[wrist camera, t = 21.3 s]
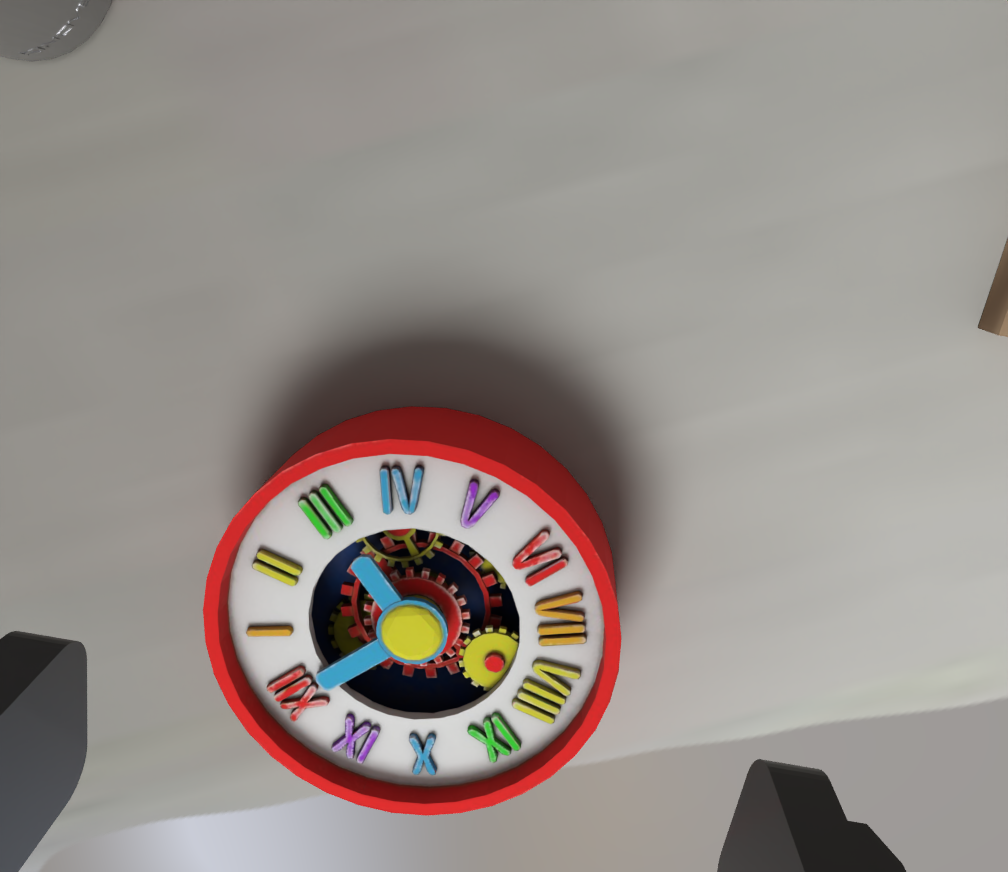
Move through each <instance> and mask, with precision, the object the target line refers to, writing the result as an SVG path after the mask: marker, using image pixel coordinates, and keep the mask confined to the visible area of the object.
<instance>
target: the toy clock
mask: <svg viewBox="0 0 1008 872" xmlns="http://www.w3.org/2000/svg"><path fill="white" fill-rule="evenodd" d="M203 615H204V628H205V640H206V646H207V649H208V653H209V657H210V661H211V664H212V668H213V672H214V675H215V677H216V679H217V681H218V683H219V686H220V688H221V690H222V692H223V694H224V696H225V698H226V700H227V702H228V704H229V706H230V707H231V709H232V710H233V712H234V713H235V714H236V716H237V717H238V719H239V720H240V722H241V723H242V725H243V726H244V728H245V729H246V730H247V732H248V733H249V734H250V735H251V736H252V737H253V738H254V739H255V740H256V741H257V742H258V743H259V744H260V745H261V746H262V747H263V748H264V749H265V750H266V751H267V752H268V753H269V754H270V756H272V757H273V758H274V759H276V760H277V761H278V762H279V763H281V764H282V765H283V766H285V767H286V768H287V769H289V770H290V771H291V772H292V773H294V774H295V775H296V776H298V777H300V778H301V779H303V780H305V781H307V782H309V783H310V784H312V785H314V786H316V787H317V788H319V789H321V790H323V791H325V792H326V793H329V794H331V795H334V796H337V797H340V798H342V799H344V800H347V801H350V802H352V803H355V804H357V805H361V806H366V807H370V808H374V809H378V810H383V811H387V812H391V813H403V814H415V815H439V814H453V813H462V812H466V811H471V810H476V809H480V808H485V807H489V806H493V805H496V804H498V803H501V802H503V801H506V800H508V799H511V798H513V797H516V796H518V795H521V794H523V793H525V792H527V791H528V790H530V789H532V788H533V787H535V786H537V785H538V784H540V783H542V782H543V781H545V780H547V779H548V778H550V777H551V776H552V775H554V774H555V773H556V772H557V771H558V770H559V769H561V768H562V767H563V766H564V765H565V764H566V763H567V762H569V761H570V760H571V759H572V758H573V757H574V756H575V755H576V754H577V753H578V751H579V750H580V749H581V748H582V746H583V745H584V744H585V743H586V741H587V740H588V739H589V738H590V736H591V735H592V734H593V732H594V731H595V730H596V728H597V726H598V724H599V722H600V720H601V718H602V716H603V714H604V712H605V710H606V708H607V706H608V704H609V702H610V699H611V696H612V692H613V689H614V685H615V682H616V678H617V675H618V671H619V660H620V648H621V631H620V622H619V612H618V603H617V594H616V584H615V576H614V567H613V559H612V552H611V549H610V546H609V542H608V539H607V536H606V533H605V530H604V527H603V524H602V521H601V520H600V518H599V516H598V514H597V512H596V510H595V509H594V507H593V505H592V503H591V501H590V499H589V497H588V496H587V494H586V493H585V491H584V490H583V489H582V488H581V486H580V485H579V484H578V483H577V481H576V480H575V479H574V478H573V476H572V475H571V474H570V473H569V471H568V470H567V469H566V468H565V467H564V466H563V465H562V464H560V463H559V462H558V461H557V460H556V459H555V458H554V457H552V456H551V455H550V454H549V453H548V452H547V451H546V450H544V449H543V448H542V447H541V446H540V445H538V444H536V443H535V442H533V441H531V440H530V439H528V438H526V437H525V436H523V435H522V434H520V433H518V432H517V431H515V430H513V429H512V428H509V427H507V426H504V425H502V424H500V423H497V422H495V421H492V420H490V419H487V418H485V417H482V416H480V415H475V414H471V413H466V412H461V411H457V410H452V409H448V408H434V407H413V406H411V407H403V408H395V409H387V410H379V411H375V412H372V413H368V414H365V415H362V416H359V417H356V418H352V419H349V420H346V421H344V422H342V423H340V424H338V425H336V426H335V427H333V428H331V429H329V430H327V431H325V432H323V433H321V434H319V435H317V436H316V437H315V438H314V439H312V440H311V441H310V442H309V443H307V444H306V445H305V446H304V447H302V448H301V449H300V450H298V451H297V452H296V453H295V454H293V455H292V456H291V457H290V458H289V459H288V460H287V461H286V462H285V463H284V464H283V465H282V466H281V467H280V468H279V469H278V470H277V471H276V472H275V474H274V475H273V476H272V477H271V478H270V479H269V480H268V481H267V482H266V483H265V484H264V485H263V486H262V487H261V488H260V489H259V490H258V491H257V492H256V493H255V494H254V495H253V496H252V497H251V498H250V499H249V501H248V502H247V503H246V504H245V505H244V506H243V507H242V509H241V510H240V511H239V512H238V513H237V514H236V515H235V517H234V518H233V519H232V521H231V523H230V525H229V526H228V528H227V530H226V532H225V534H224V535H223V537H222V539H221V541H220V542H219V544H218V546H217V548H216V551H215V554H214V558H213V561H212V564H211V567H210V570H209V573H208V576H207V581H206V590H205V599H204V607H203Z"/></svg>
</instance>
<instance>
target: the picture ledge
mask: <svg viewBox="0 0 1008 872" xmlns="http://www.w3.org/2000/svg"><path fill="white" fill-rule="evenodd" d="M978 328H980V329H982V330H985V331H988V332H991V333H994V334H997V335H1000V336H1006V337H1008V239H1007V242H1006V245H1005V248H1004V251H1003V254H1002V257H1001V260H1000V263H999V266H998V269H997V272H996V275H995V278H994V281H993V284H992V287H991V290H990V293H989V296H988V299H987V302H986V305H985V308H984V311H983V314H982V317H981V320H980V323H979V326H978Z"/></svg>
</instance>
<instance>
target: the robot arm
mask: <svg viewBox="0 0 1008 872" xmlns="http://www.w3.org/2000/svg"><path fill="white" fill-rule="evenodd" d="M111 1H112V0H0V56H2V57H6V58H11V59H18V60H26V61H39V60H47V59H53V58H56V57H59V56H61V55H64V54H66V53H69V52H71V51H73V50H74V49H75V48H77V47H78V46H80V45H81V44H82V43H84V42H85V41H87V40H88V38H89V37H90V36H91V35H92V34H93V33H94V31H95V30H96V29H97V28H98V27H99V26H100V24H101V22H102V20H103V18H104V16H105V15H106V13H107V11H108V9H109V7H110V5H111ZM86 752H87V656H86V650H85V648H84V645H83V644H82V643H81V642H79V641H73V640H67V639H61V638H55V637H49V636H43V635H37V634H32V633H26V632H20V631H14V632H10V633H8V634H7V635H5V636H4V637H3V638H1V639H0V872H18V871H19V870H20V868H21V867H22V866H23V864H24V863H25V861H26V860H27V859H28V857H29V856H30V854H31V853H32V852H33V850H34V849H35V848H36V846H37V845H38V843H39V842H40V841H41V839H42V838H43V836H44V835H45V834H46V832H47V831H48V829H49V828H50V827H51V825H52V824H53V822H54V821H55V820H56V818H57V817H58V815H59V814H60V813H61V811H62V810H63V808H64V807H65V806H66V804H67V803H68V801H69V800H70V798H71V796H72V794H73V792H74V790H75V788H76V786H77V784H78V781H79V779H80V776H81V773H82V770H83V766H84V763H85V758H86ZM717 872H906V870H905V868H904V866H903V865H902V863H901V862H900V861H899V860H898V858H897V857H896V856H895V855H894V854H893V853H892V852H891V851H890V849H888V847H887V846H886V845H885V844H884V843H883V842H882V841H881V839H880V838H879V837H878V836H877V835H876V834H875V833H874V832H873V831H872V829H871V828H870V827H869V826H868V825H867V824H863V823H857V822H851V821H847V819H846V816H845V814H844V812H843V810H842V807H841V805H840V803H839V800H838V798H837V796H836V793H835V791H834V789H833V787H832V784H831V782H830V780H829V779H828V776H827V775H826V774H825V773H824V772H823V771H822V770H819V769H814V768H808V767H802V766H796V765H790V764H785V763H779V762H772V761H767V760H761V759H759V760H756V761H755V762H754V763H753V764H752V765H751V767H750V769H749V771H748V774H747V777H746V780H745V783H744V786H743V789H742V792H741V795H740V798H739V801H738V804H737V807H736V810H735V813H734V816H733V819H732V822H731V825H730V828H729V831H728V834H727V837H726V840H725V843H724V846H723V849H722V852H721V855H720V859H719V864H718V871H717Z"/></svg>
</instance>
